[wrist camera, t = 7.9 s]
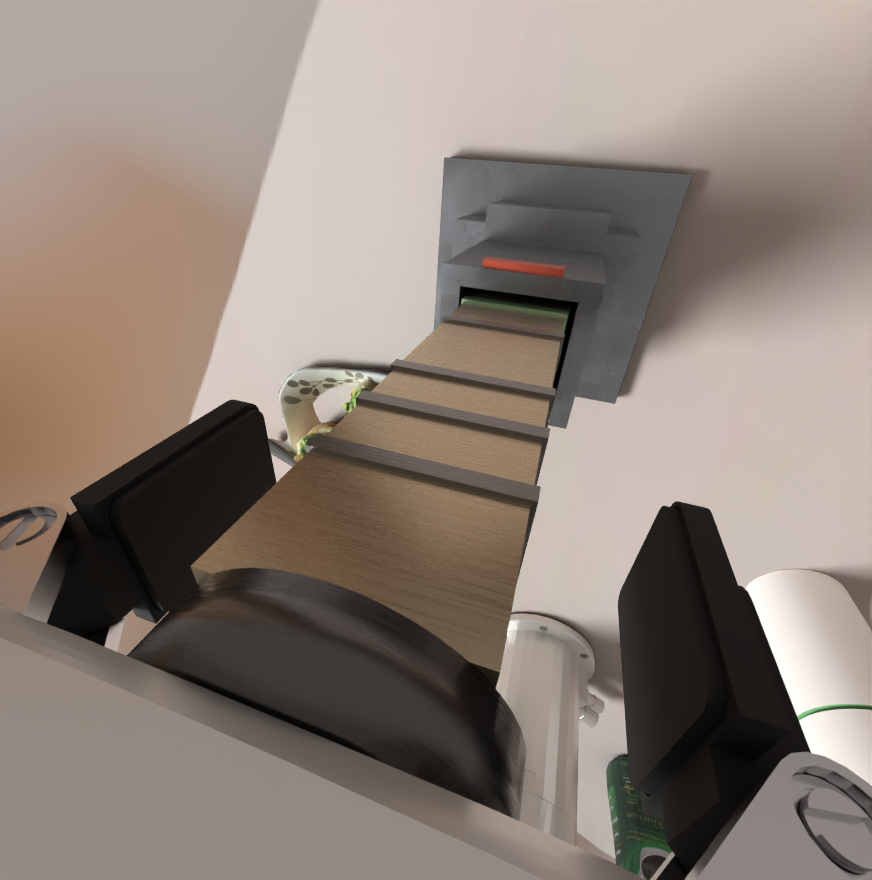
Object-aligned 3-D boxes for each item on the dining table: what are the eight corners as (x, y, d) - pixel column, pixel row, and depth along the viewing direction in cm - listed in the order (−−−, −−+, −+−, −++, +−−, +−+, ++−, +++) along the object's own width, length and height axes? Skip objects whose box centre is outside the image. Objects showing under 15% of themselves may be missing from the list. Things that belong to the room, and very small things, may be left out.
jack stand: (689, 174, 23) (772, 170, 13) (614, 397, 31) (626, 510, 20) (448, 158, 26) (354, 143, 16) (435, 364, 34) (365, 447, 23)
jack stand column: (586, 271, 21) (566, 818, 3) (562, 368, 23) (479, 941, 6) (484, 258, 22) (31, 599, 4) (473, 352, 25) (177, 792, 7)
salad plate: (288, 495, 49) (263, 521, 45) (252, 349, 39) (217, 366, 36) (446, 530, 44) (432, 562, 40) (448, 373, 34) (431, 396, 31)
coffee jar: (602, 773, 59) (607, 976, 44) (611, 747, 55) (619, 961, 40) (679, 797, 56) (711, 1023, 41) (694, 771, 52) (736, 1012, 37)
